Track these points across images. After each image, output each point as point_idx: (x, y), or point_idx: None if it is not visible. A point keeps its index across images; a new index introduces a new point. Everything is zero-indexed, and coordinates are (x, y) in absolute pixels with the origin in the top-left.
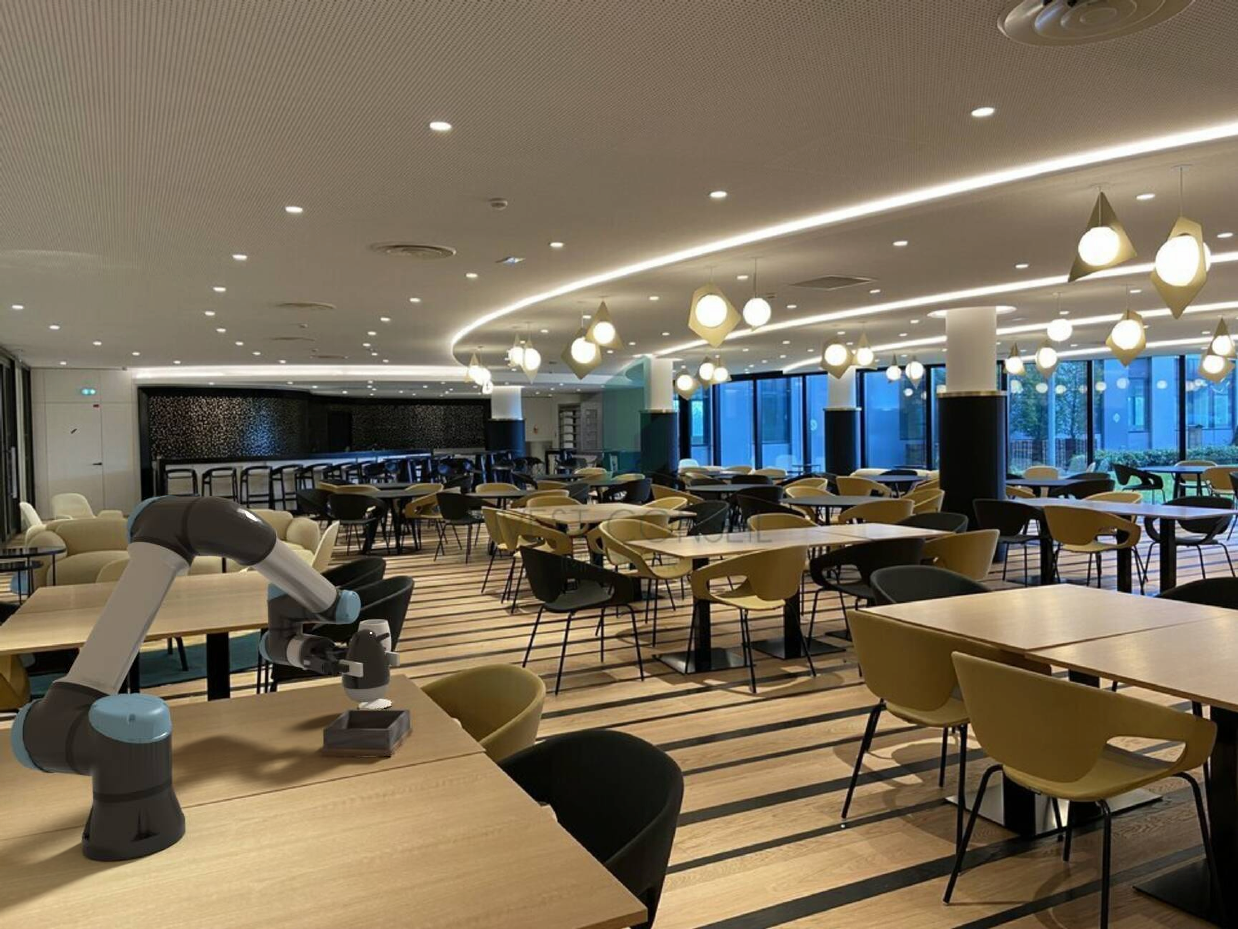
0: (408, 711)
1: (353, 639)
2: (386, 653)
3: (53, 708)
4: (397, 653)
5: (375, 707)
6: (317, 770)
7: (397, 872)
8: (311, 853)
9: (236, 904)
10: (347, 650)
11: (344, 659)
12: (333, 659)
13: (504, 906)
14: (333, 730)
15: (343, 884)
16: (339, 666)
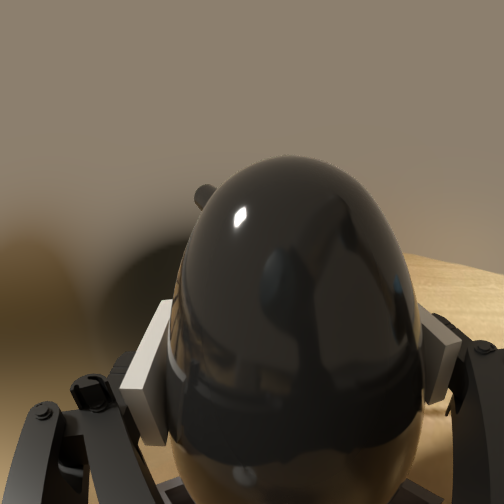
0: (160, 484)
1: (383, 214)
2: (164, 340)
3: None
4: (168, 301)
5: None
6: (452, 459)
7: (413, 272)
8: (465, 298)
9: (500, 279)
10: (417, 305)
11: (424, 377)
12: (493, 380)
13: None
14: (420, 486)
15: (445, 274)
16: (457, 333)
